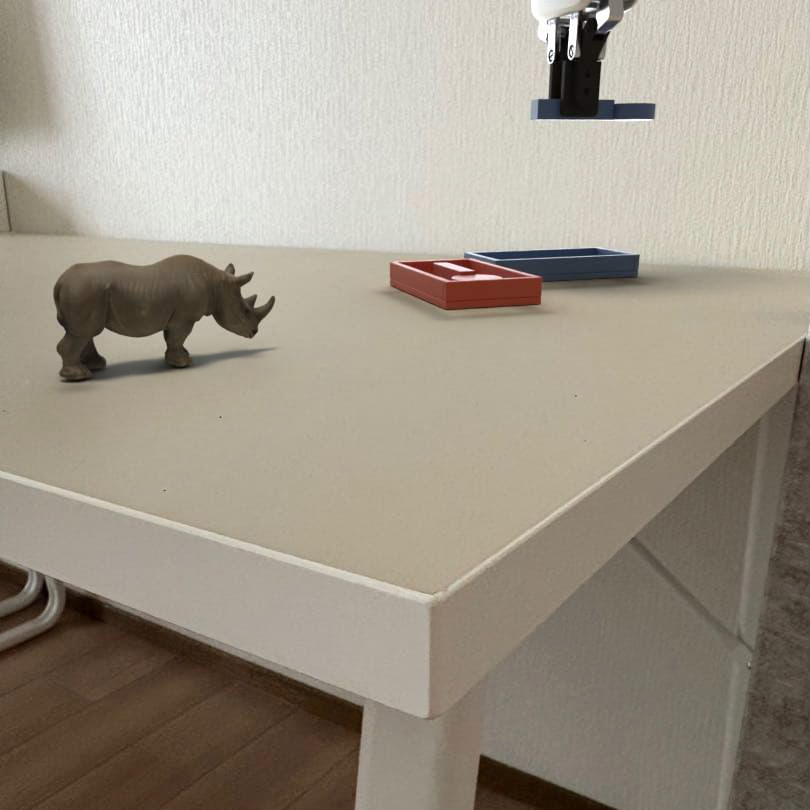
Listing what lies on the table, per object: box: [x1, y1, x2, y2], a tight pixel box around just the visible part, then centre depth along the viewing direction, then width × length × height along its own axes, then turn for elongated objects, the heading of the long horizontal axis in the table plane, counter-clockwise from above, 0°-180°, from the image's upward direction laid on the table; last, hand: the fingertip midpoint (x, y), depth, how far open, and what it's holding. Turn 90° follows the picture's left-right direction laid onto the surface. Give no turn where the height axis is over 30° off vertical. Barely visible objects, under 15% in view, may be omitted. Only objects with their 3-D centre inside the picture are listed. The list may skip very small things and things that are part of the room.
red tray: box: [389, 258, 543, 310], centre depth 76 cm, size 15×8×2 cm, turn 18°
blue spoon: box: [529, 98, 657, 122], centre depth 73 cm, size 11×4×2 cm, turn 109°
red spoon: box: [433, 262, 502, 281], centre depth 76 cm, size 11×4×2 cm, turn 18°
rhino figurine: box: [52, 253, 276, 380], centre depth 51 cm, size 4×14×6 cm, turn 126°
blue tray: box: [463, 246, 641, 283], centre depth 87 cm, size 15×8×2 cm, turn 108°
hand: (572, 115), depth 73 cm, fingers closed on blue spoon, 1 cm apart
